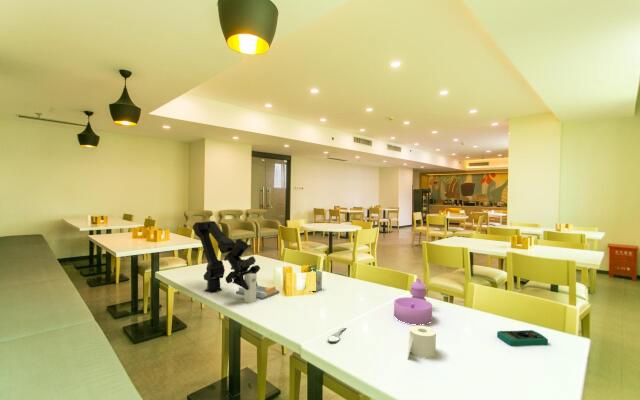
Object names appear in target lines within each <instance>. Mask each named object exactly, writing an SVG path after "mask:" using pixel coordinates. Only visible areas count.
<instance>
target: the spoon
mask: <svg viewBox="0 0 640 400" xmlns="http://www.w3.org/2000/svg"><path fill="white" fill-rule="evenodd" d="M344 329H345V328H340V329H339V330H338V331H337V332H335V333H333V334H331V335H330V336H335V337H338V338H339V339H341V337H340V333H341V332H343V331H344ZM345 330H346V329H345ZM327 341H328V342H332V343H336V342H339V341H338V340H337V341H336V340H332V341H330V340H329V339H328V338H327Z"/></svg>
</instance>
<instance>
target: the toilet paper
mask: <svg viewBox="0 0 640 400" xmlns="http://www.w3.org/2000/svg"><path fill="white" fill-rule="evenodd" d="M408 335H409V336H408V337H409V338H408V347H407V348H408V351H407V358H408V359H409V357H410V353H411V352H412V353H413V354H412V353H411V354H412V355H414V354H415V355H414V356H416V355H417V356H416V357H419V356H420V357H419V358H423V357H430V358H433V357H435V356H436V348H437V347H436V341H437V340H436V338H437V336H436V335H437V333H436V330H435V329H434V328H431V327H429V326H427V325H411V326H410V327H409V333H408ZM410 351H411V352H410ZM434 355H435V356H434ZM407 358H406V359H407Z"/></svg>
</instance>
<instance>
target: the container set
mask: <svg viewBox="0 0 640 400" xmlns="http://www.w3.org/2000/svg"><path fill="white" fill-rule="evenodd" d="M409 292H410V295H411V297H408V296H407V297H405V296H404V297H398V298H396V299H394V301H393V317H394V316H395V317H396V318H397V319H398V320H400V321H402V322H405V323H409V324H416V325H420V324H421V326H423V325H422V324H427V323H429V322H431V321H432V322H433V304H432V303H431V302H430V301H429V300H428V301H427V299H426V298H425V297H426V296H427V295H428V291H427V285H426V284H425V283H424V282H422V279H421V278H416V281H414V282H412V283H410V291H409ZM398 320H397V321H398ZM402 322H401V323H402ZM432 322H431V323H432ZM405 323H404V324H405ZM409 324H408V325H409ZM427 325H428V324H427Z"/></svg>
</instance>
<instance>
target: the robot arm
mask: <svg viewBox="0 0 640 400" xmlns="http://www.w3.org/2000/svg"><path fill="white" fill-rule="evenodd" d="M192 229H193V232H194V234H195V236H197V238H199V239H200V243H201V246H202V248H203V252H204V254H205V258H206V260H207V265H206V268H205V269H206V272H205V273H204V274H203V280H205V281H207V282H206V289H204V291H205V292H208V293H213V294H214V293H216V292H219V291H222V290H223V288H221V279H223V278H224V276H225V271H226V270H225V265H224V263H223V261H225V262H226V261H227V262H228V263H229V264H230V270H232V271H230V272H229V273H228V274H227V276H225V282H226V284H231V283H232V284H235V285H237V286H239V287H242V288H244V289H246V290H248V289H249V288H248V286H247V284H246V282H245V280H244V275H245V274H248V273H254V274H257V273H258V272H259V271H260V270H261V267H260V265H257V264H256V265H255V263H256V258H255V257H254V256H253V255H252V256H250V257H248V258H246V259H242V258H241V257H242V256H243V255H244V254H245V252H246V250H247V249H248V248H249V245H248V243H247V242H246V241H244V240H242V239H241V238H238V239H236V240H235V241H234V240H233V239H231V238H229V237H227V236H226V235H225V234H224V232H222V230H221V229H220V228H219V226H218V225H217V223H216V221H214V220H208V221H197V222H194V224H193V225H192ZM210 234H211V236H212V237H213V239H215V241H216V243H217V248H218V250H219V252H220V253H222V254H224V258H223V261H222V260H219V259H218V257H217V254H216V251H215V249H214V248H215V247H214V245H213V242H212V239H211V236H210ZM250 266H251V267H250ZM258 285H259V284H258V281H257V280H256V287H257V286H258Z"/></svg>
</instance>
